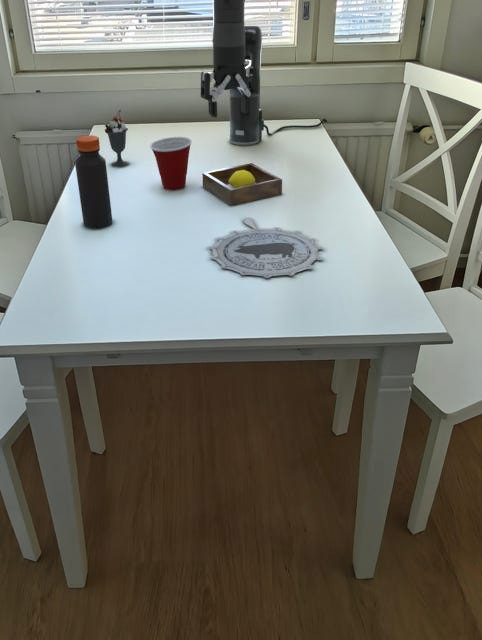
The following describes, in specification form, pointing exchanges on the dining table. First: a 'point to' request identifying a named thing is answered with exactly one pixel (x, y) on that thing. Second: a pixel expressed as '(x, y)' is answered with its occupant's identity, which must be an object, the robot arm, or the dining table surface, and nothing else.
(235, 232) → the decorative wall hanging
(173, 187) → the plastic cup
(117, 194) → the dining table surface
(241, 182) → the lemon
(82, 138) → the bottle
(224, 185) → the wooden box
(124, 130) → the sundae
